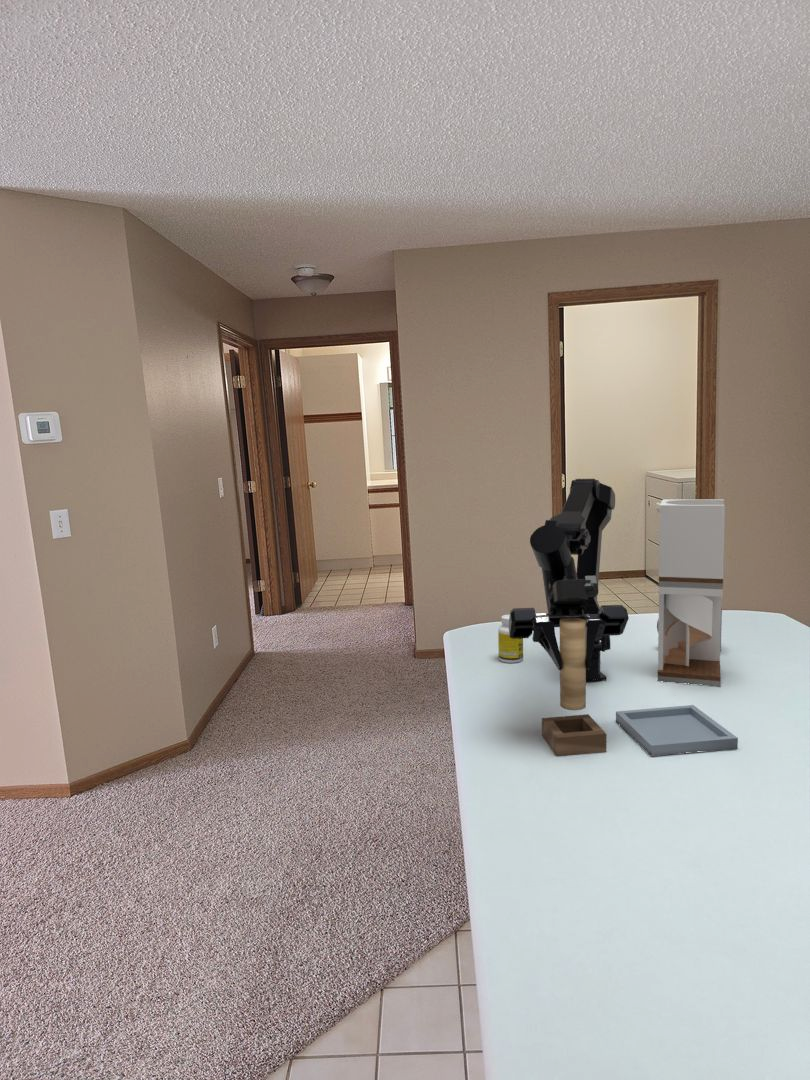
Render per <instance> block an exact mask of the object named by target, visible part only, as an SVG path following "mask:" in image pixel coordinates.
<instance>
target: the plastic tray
mask: <svg viewBox="0 0 810 1080" xmlns="http://www.w3.org/2000/svg"><path fill="white" fill-rule="evenodd" d="M615 722H616V723H617V724H618V725H619V724H620V725H619V726H620V727H621V728H622V727H623V728H624V729H625V730H626V731H627V732H628V733H629V734H630V735H631V736H632V737H633V738H634V739H635V740H636V741H637V742H638V743H639V744H640V745H641V746H642V747H643V748H644V749H645V750H646V751H647V752H648V753H649V754H650V755H651V756H654V757H659V756H658V755H665V756H670V755H669V754H676V755H679V754H678V753H686V752H697V751H710V752H719V751H720V750H721V751H729V750H738V749H739V748H738V743H739V738H738V736H736V735H735V734H734V733H732V732H730V731H729V730H728V729H727V728H725V727H723V726H722V724H720V723H718V722H717V721H716V720H715V719H713V718H711V717H710V716H709V715H707V714H706V713H705V712H704V711H702V710H701V709H699V708H698V707H697V706H695V705H694V704H691V705H677V706H667V707H652V708H641V709H630V710H619V711H617V710H616V711H615ZM623 728H622V729H623ZM624 729H623V730H624ZM625 730H624V731H625ZM626 731H625V732H626ZM627 732H626V733H627ZM628 733H627V734H628ZM629 734H628V735H629ZM630 735H629V736H630ZM631 736H630V737H631ZM632 737H631V738H632ZM633 738H632V739H633ZM634 739H633V740H634ZM635 740H634V741H635ZM636 741H635V742H636ZM637 742H636V743H637ZM638 743H637V744H638ZM639 744H638V745H639ZM640 745H639V746H640ZM641 746H640V747H641ZM642 747H641V748H642ZM643 748H642V749H643ZM644 749H643V750H644ZM645 750H644V751H645ZM646 751H645V752H646ZM647 752H646V753H647ZM648 753H647V754H648ZM649 754H648V755H649ZM650 755H649V756H650ZM651 756H650V757H651Z"/></svg>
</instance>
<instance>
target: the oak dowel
mask: <svg viewBox="0 0 810 1080" xmlns="http://www.w3.org/2000/svg"><path fill="white" fill-rule="evenodd" d="M559 652H560V656H561V662H562V670H559V690H560V691H559V697H560V698H559V699H560V700H559V706H560V707H561V708H562V709H564V710H568V711H582V710H584V709H585V708H586V707H587V706H586V705H587V700H586V699H587V698H586V697H587V693H586V691H587V689H586V688H587V687H586V685H587V684H586V683H587V681H586V621H585V620H584V619H581V618H563V619H560V627H559Z"/></svg>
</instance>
